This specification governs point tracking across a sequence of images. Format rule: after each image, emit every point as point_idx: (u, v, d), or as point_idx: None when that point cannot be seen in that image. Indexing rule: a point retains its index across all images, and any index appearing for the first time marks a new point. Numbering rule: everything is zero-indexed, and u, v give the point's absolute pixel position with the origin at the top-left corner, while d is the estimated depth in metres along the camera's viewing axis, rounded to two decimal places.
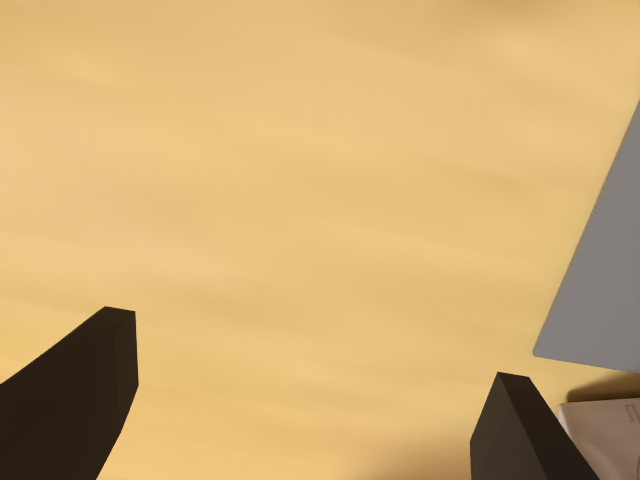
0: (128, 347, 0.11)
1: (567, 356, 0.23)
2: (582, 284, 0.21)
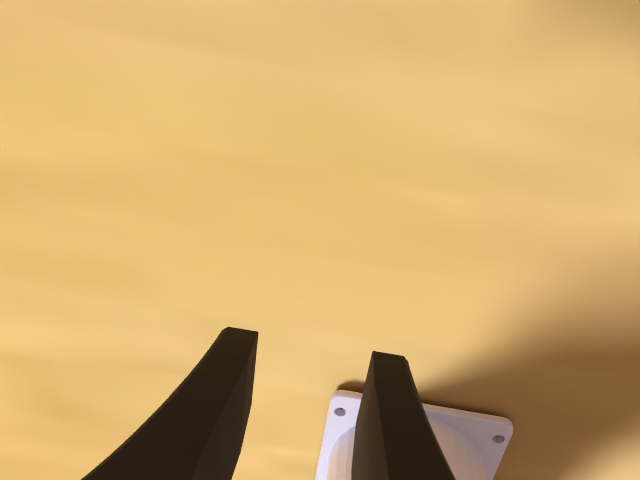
0: (252, 367, 0.11)
1: None
2: None
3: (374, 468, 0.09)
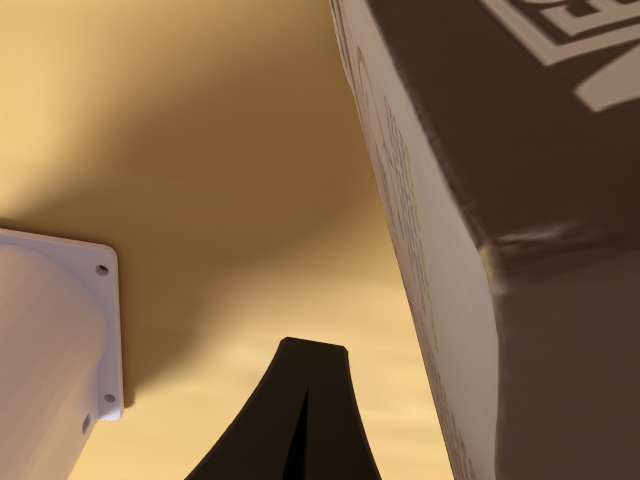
0: None
1: None
2: None
3: (302, 456, 0.09)
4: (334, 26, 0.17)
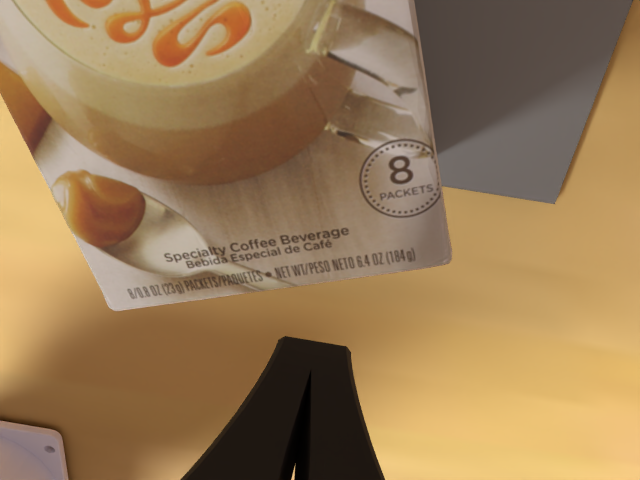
0: None
1: None
2: None
3: (305, 456, 0.09)
4: None
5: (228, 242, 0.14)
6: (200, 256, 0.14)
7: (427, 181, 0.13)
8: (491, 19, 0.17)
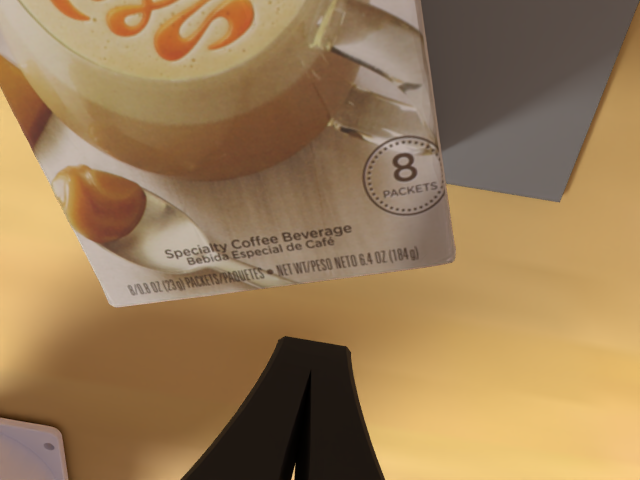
0: None
1: None
2: None
3: (305, 456, 0.09)
4: None
5: (230, 239, 0.14)
6: (201, 253, 0.14)
7: (431, 178, 0.12)
8: (497, 15, 0.16)
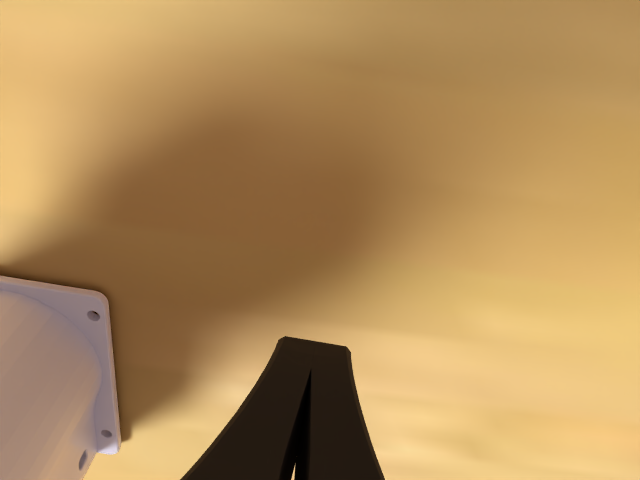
0: None
1: None
2: None
3: (305, 456, 0.09)
4: None
5: None
6: None
7: None
8: None
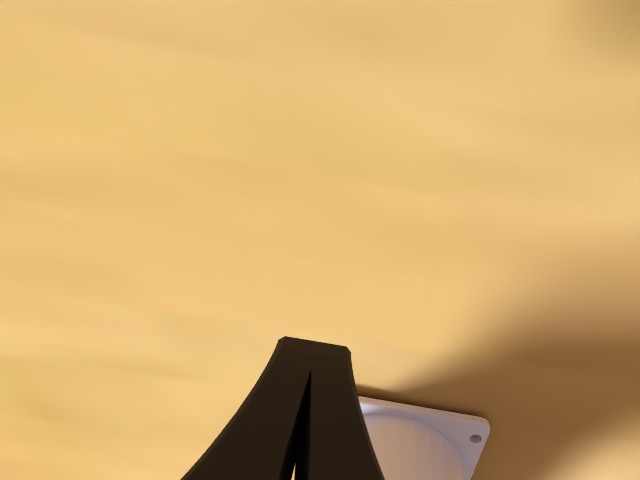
0: None
1: None
2: None
3: (305, 456, 0.09)
4: None
5: None
6: None
7: None
8: None
